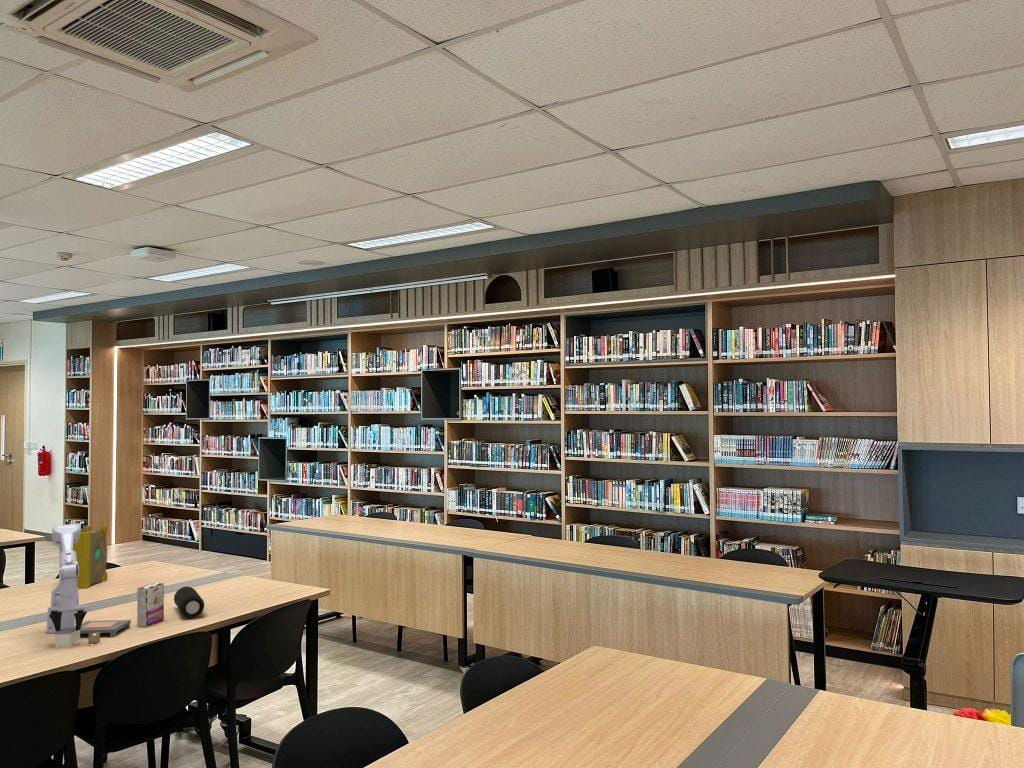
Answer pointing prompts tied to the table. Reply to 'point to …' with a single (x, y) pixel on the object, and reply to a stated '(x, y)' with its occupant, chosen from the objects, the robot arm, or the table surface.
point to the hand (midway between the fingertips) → (68, 630)
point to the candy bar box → (150, 604)
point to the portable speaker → (189, 602)
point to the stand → (104, 626)
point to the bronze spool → (94, 638)
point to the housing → (67, 636)
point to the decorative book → (91, 556)
